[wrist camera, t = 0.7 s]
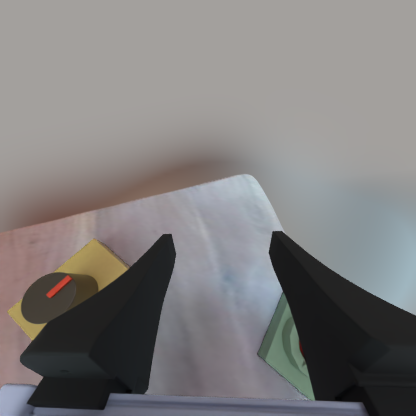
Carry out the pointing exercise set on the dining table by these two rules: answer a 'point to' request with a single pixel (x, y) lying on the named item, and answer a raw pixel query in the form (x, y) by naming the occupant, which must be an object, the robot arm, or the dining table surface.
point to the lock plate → (86, 265)
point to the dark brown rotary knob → (56, 295)
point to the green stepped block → (286, 349)
